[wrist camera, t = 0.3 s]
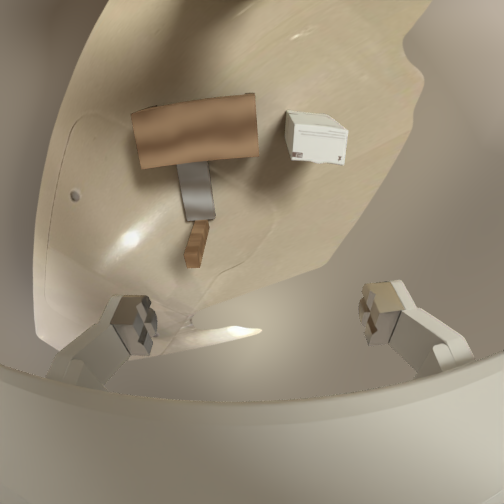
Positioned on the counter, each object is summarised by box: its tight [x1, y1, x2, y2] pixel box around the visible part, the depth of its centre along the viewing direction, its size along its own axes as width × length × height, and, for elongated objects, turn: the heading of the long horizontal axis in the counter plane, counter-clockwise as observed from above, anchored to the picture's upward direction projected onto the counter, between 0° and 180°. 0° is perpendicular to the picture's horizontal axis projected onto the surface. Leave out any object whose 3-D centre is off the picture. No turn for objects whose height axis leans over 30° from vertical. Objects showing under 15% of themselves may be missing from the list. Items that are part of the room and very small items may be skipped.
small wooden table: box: [131, 93, 259, 170], centre depth 46 cm, size 10×20×10 cm, turn 94°
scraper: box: [176, 161, 216, 268], centre depth 52 cm, size 18×6×14 cm, turn 4°
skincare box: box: [285, 110, 348, 165], centre depth 44 cm, size 8×6×15 cm
